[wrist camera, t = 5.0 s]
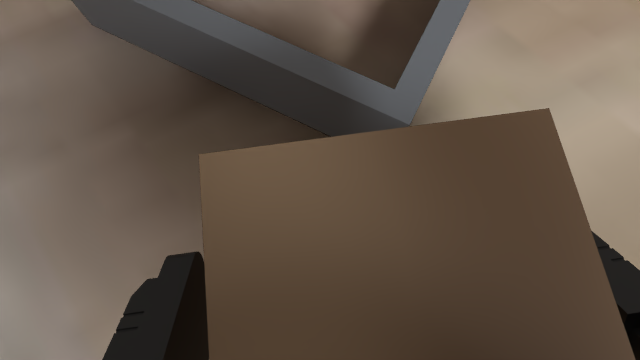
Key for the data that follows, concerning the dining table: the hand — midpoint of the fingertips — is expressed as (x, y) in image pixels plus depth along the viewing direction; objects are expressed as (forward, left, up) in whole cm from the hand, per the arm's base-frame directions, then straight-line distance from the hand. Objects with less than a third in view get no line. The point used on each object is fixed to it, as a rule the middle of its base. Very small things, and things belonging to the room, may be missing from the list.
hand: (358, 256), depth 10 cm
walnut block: (+1, -1, -6) cm, 6 cm away
